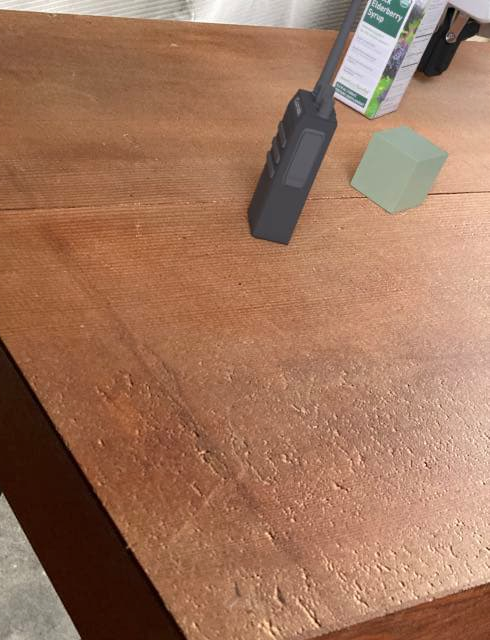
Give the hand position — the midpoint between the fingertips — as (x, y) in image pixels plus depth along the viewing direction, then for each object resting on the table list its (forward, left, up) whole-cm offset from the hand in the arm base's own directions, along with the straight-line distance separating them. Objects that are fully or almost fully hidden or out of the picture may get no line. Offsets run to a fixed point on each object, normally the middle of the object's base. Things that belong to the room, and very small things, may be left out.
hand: (428, 72), depth 110 cm
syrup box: (-2, +14, -1) cm, 14 cm away
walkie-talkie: (-16, +45, -1) cm, 48 cm away
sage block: (-16, +28, -1) cm, 32 cm away
